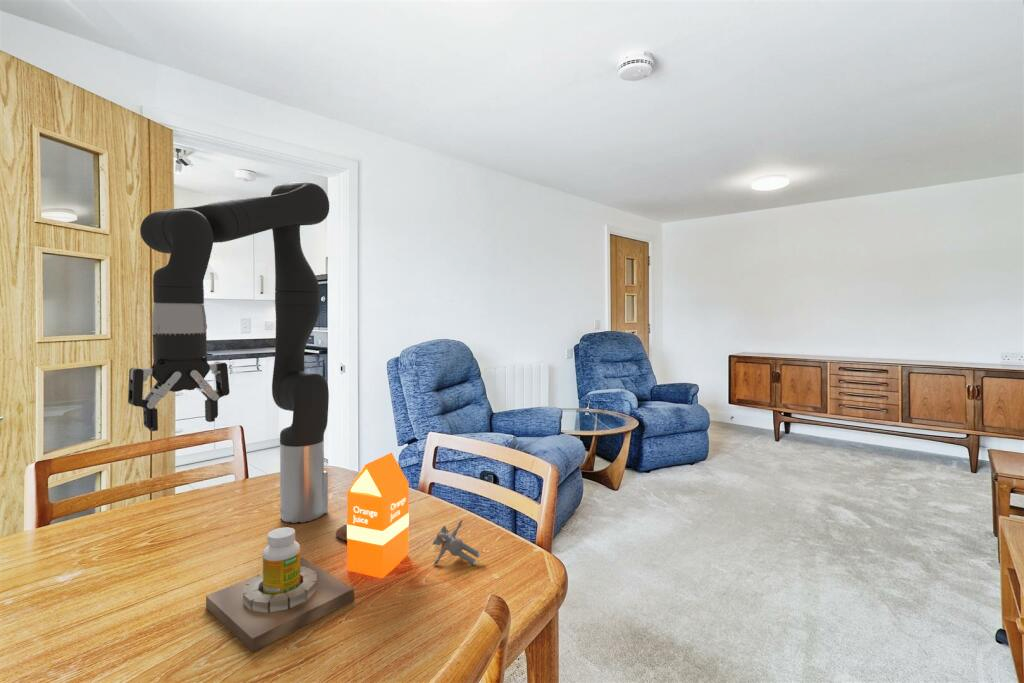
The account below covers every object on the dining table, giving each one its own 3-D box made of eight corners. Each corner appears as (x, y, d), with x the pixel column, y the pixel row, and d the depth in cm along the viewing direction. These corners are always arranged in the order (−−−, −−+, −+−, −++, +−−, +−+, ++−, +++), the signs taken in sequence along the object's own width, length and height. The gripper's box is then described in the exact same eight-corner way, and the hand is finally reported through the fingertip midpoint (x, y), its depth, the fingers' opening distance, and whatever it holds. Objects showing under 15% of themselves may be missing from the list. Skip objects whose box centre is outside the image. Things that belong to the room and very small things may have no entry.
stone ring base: (302, 567, 90) (302, 549, 89) (354, 600, 80) (354, 579, 80) (206, 607, 77) (205, 586, 77) (252, 652, 67) (252, 628, 67)
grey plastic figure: (463, 580, 87) (421, 554, 89) (464, 589, 91) (424, 564, 94) (491, 530, 93) (451, 507, 95) (491, 541, 97) (452, 519, 100)
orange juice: (409, 555, 95) (409, 454, 94) (382, 578, 86) (383, 467, 85) (374, 548, 97) (375, 449, 96) (346, 570, 89) (346, 462, 88)
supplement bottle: (285, 603, 75) (285, 541, 75) (255, 598, 76) (254, 538, 76) (307, 584, 81) (306, 527, 80) (278, 580, 82) (277, 523, 81)
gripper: (216, 329, 90) (218, 415, 91) (120, 330, 79) (123, 430, 80) (234, 330, 86) (236, 421, 87) (136, 332, 74) (139, 437, 75)
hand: (182, 425), depth 83 cm, fingers open, 8 cm apart
